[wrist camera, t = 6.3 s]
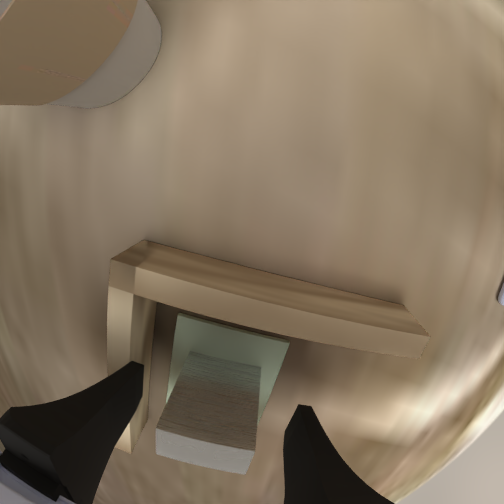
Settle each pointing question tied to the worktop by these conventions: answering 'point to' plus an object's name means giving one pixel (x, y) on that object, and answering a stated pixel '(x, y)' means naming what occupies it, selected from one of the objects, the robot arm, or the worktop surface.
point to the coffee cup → (75, 50)
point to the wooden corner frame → (237, 318)
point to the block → (211, 414)
